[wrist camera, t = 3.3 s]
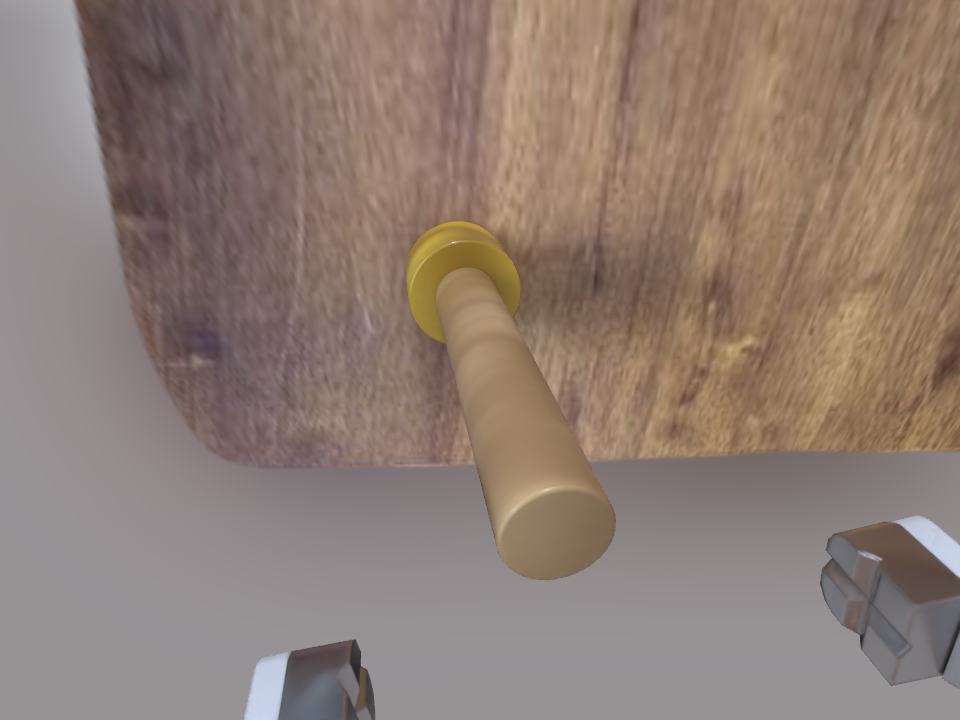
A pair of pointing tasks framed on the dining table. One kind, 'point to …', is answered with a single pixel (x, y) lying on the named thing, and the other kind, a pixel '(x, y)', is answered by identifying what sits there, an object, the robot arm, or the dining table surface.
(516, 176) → the dining table surface
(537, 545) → the beige handle with collar
